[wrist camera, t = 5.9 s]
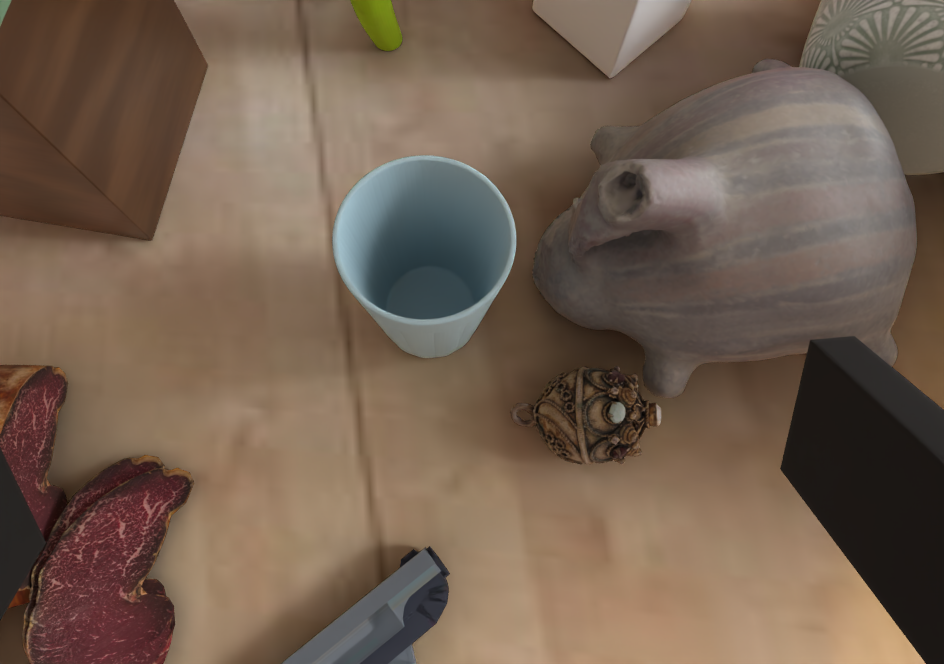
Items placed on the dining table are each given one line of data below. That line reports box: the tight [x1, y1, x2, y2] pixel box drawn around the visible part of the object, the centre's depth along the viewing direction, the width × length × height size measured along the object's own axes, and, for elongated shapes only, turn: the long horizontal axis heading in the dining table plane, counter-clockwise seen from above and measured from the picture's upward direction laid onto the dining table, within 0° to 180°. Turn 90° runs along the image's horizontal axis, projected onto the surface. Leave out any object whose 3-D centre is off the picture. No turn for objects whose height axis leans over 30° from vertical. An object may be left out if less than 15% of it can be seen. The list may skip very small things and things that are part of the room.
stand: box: [0, 0, 208, 240], centre depth 33 cm, size 12×12×15 cm
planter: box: [799, 0, 944, 175], centre depth 37 cm, size 12×12×11 cm
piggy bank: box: [532, 59, 917, 398], centre depth 36 cm, size 18×16×14 cm
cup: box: [332, 155, 516, 358], centre depth 33 cm, size 8×8×10 cm
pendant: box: [510, 366, 661, 464], centre depth 35 cm, size 5×8×5 cm
